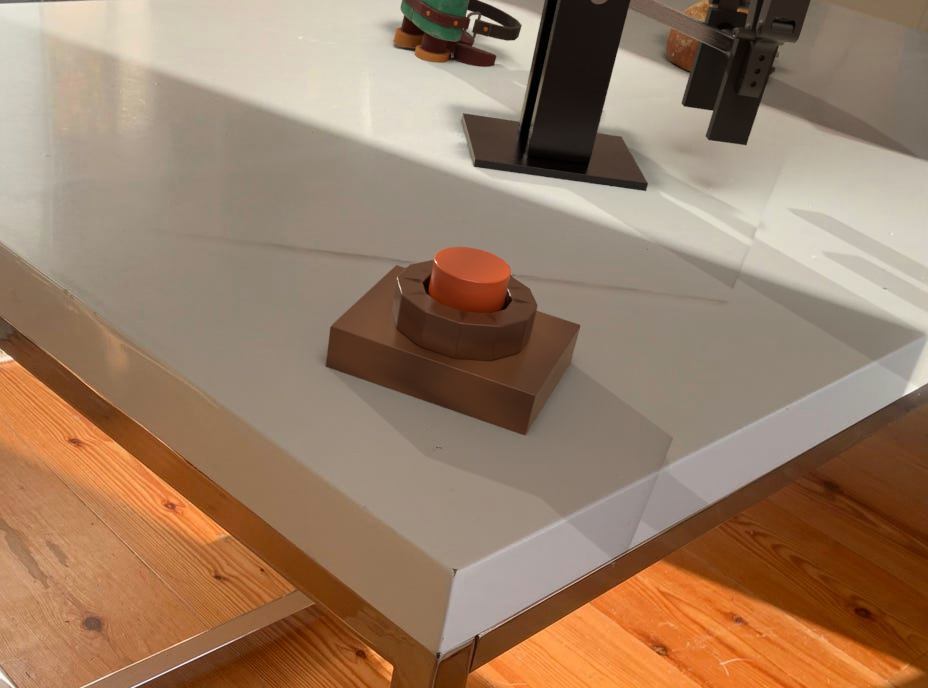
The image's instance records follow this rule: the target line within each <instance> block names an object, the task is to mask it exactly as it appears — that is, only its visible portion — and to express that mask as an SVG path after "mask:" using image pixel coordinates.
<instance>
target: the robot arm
mask: <svg viewBox="0 0 928 688" xmlns="http://www.w3.org/2000/svg"><path fill="white" fill-rule="evenodd" d="M708 2H709V4H712V5H713V6H712V7H709V8H708V12H707V15H706V19H705V23H707V24H709V25H711V26H713V27H715V28H716V27H717V26H718V25H719V24H721V23H729V24H731V25H732V26H733V27H734V28H733V38H735V41H734V44H733V47H732V51H731V54H730V57H729V59H728V58H727V57H726V56H725V54H724V53H723V52H722V51H720V50H718V49H716V48H714V47H711V46H709V45H707V44H705V43H703V42H700V41H699V43H698V47H697V50H696V54H695V57H694V61H693V64H692V68H691V71H690V72H689V75H688V79H687V81H686V85H685V89H684V93H683V96H682V100H681V105H682V106H683V107H684V108H691V109H698V110H705V111H712V113H711V117H710V120H709V123H708V127H707V130H706V133H705V138H706V139H707V141H712V142H720V143H727V144H733V145H734V144H735V145H741V146H747V145H748V141H749V139H750V135H751V133H752V129H753V127H754V123H755V121H756V117H757V114H758V111H759V108H760V105H761V102H762V100H763V95H764V93H765V89H766V86H767V83H768V81H769V77H770V76H771V75H770V72H771V69H772V65H773V66H774V62H775V59H776V57H775V56H776V53H777V50H778V51H779V47H781V46H784V44H785V43H792V44H795V43H797V42H798V40H799V38H800V37H801V33H802V30H803V26H804V23H805V21H806V20H805V19H806V16H807V13H808V10H809V7H810V4H811V0H708ZM738 9H743V10H748V14H747V13H744V12H738V11H737V10H738Z"/></svg>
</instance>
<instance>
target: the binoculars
mask: <svg viewBox="0 0 928 688" xmlns="http://www.w3.org/2000/svg"><path fill="white" fill-rule="evenodd" d="M400 11H401V14H403V18H402V21H401V27H400V26H399V27H397V28H396V29H395V33H394V38H393V43H394V45H396V46H397V47H400V48H401V47H402V48H407V49H409V48H410V49H414V48H415V50H414V54H413V55H414V56H415V57H416V58H418V59H419V60H421V61H424V62H428V63H437V64H440V63H446V62H448V61H449V60H451V61H457V62H461V63H464V64H467V65H469V66H472V67H481V68H490V67H493V66H494V65H495V63H496V59H497V55H496V53H495V54H494V53H493V52H491V51H487V50H484V49H482V48H479V47H476V46H474V43H475V39H476V36H477V35H479V36H483V37H487V38H492V39H496V40H500V41H502V40H503V41H507V42H508V41H510V42H511V41H516V40H517V39H518V38H519V36H520V32H521V30H522V24H521V22H520V21H519V20H518V19H517V18H515V17H514V16H512V15H511V14H509V13H507V12H505V11H504V10H502V9H500V8H498V7H495V6H494V5H492V4H489V3H487V2H484V1H483V0H482V1H481V0H401V3H400ZM468 12H469V13H468ZM471 16H477V18H475V19H474V23H473V27H472V30H471V32H472V33H473V35H472V34H471V33H469V32H468V31H467V30H468V29H469V28H470V24H471V20H472V19H471ZM482 17H485V18H487V19H490V20H491V21H494V22H496V23H492V22H488V21H485V20H482V19H481V18H482ZM452 53H453V54H452ZM452 55H453V56H452Z"/></svg>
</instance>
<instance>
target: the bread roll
mask: <svg viewBox="0 0 928 688" xmlns="http://www.w3.org/2000/svg"><path fill="white" fill-rule="evenodd" d="M712 6H713V5H712V4H709V2H708V0H700V1H698V2H696V3H694V4H692V5H690V6H689V7H688V8H686V9H685V10H684V11H682V12H683V13H685V14H688V15H690V16H692V17H694V18H696V19H698V20H700V21H702V22H705V19H706V15H707V12H708V8H709V7H712ZM737 11H738V12H744V13H747V14H748V10H743V9H738V10H737ZM698 43H699V41H698V40H696V39H694V38H692V37H690V36H687V35H685V34H683V33H681V32H679V31H677V30H674V29H672V28H670V29H669V32H668V35H667V38H666V45H665V53H666V55H667V58H668V61H669V62H670V63H672V64H673V65H675V64H676V65H675V66H677V67H679V68H681V69H682V70H685V71H688V72H689V73H690V71H691V68H692V64H693V61H694V57H695V54H696V50H697V47H698ZM775 58H780V51H779V49H778V50H777V53H776V56H775ZM775 72H776V66H774V64H773V65H772V69H771V72H770V75H769V76H771V75H772V74H775Z"/></svg>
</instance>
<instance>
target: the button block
mask: <svg viewBox="0 0 928 688" xmlns="http://www.w3.org/2000/svg"><path fill="white" fill-rule="evenodd" d="M433 261H434V259H430V260H425V261H420V262H416V263H411V264H409V265H408V266H407V267H404V266H400V265H397V264H395V265H394V266H393V267H392V268H391V269H390V270H389V271H388V272H387V273H386V274H385V275H384V276H383V277H381V278H380V280H378V281H377V282H376V283H375V284H374V285H373V286H372V287H370V288H369V290H368V291H366V292H365V293H364V294H363V295H362V296H361V297H360V298H359V299H358V300H356V301H355V302H354V303H353V304H352V306H350V307H349V308H348V309H347V310H346V311H345V312H344V313H343V314H342V315H340V316H339V317H338V319H336V320H335V321H334V322H333V323H332V324H331V325H330V327H329V334H328V344H327V351H326V359H325V360H326V361H325V367H326V368H329V369H331V370H334V371H337V372H339V373H343V374H346V375H348V376H352V377H355V378H357V379H360V380H364V381H366V382H369V383H372V384H375V385H378V386H380V387H383V388H386V389H389V390H392V391H395V392H398V393H400V394H404V395H406V396H409V397H412V398H415V399H418V400H421V401H424V402H427V403H430V404H431V405H432V404H433V405H435V406H439V407H441V408H443V409H447V410H450V411H452V412H456V413H459V414H462V415H464V416H467V417H469V418H472V419H476V420H479V421H481V422H485V423H487V424H490V425H493V426H496V427H499V428H502V429H505V430H507V431H511V432H514V433H517V434H518V435H523V436H527V434H528V432H529V431H530V429H531V427H532V426H533V424H534V423H535V421H536V419H537V418H538V416H539V414H541V411H542V410H543V408H544V407H545V405H546V403H547V402H548V400H549V398H550V397H551V395H552V394H553V392H554V390H555V389H556V387H557V386H558V384H559V382H560V381H561V379H562V377H563V376H564V374H565V372H566V371H567V369H568V367H569V366H570V364H571V362H572V359H573V355H574V352H575V347H576V344H577V340H578V336H579V333H580V331H581V324H579V323H576V322H573V321H570V320H566V319H565V318H560V317H557V316H555V315H551V314H548V313H545V312H543V311H539V310H538V303H537V301H536V299H535V297H534V294H533V292H532V290H531V288H530V287H528V286H527V285H526V284H524V283H522V282H521V281H519V280H518V279H517V278H515V277H513V276H512V275H510V280H509V284H508V289H507V293H506V298H505V302H504V307H503V308H502V310H501V311H497V312H493V313H476V312H463V311H460V310H457V309H454V308H451V307H448V306H445V305H442V304H440V303H439V302H437V301H436V300H435V299H433V298H432V297H430V296H429V292H428V290H429V284H430V278H431V272H432V267H433Z"/></svg>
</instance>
